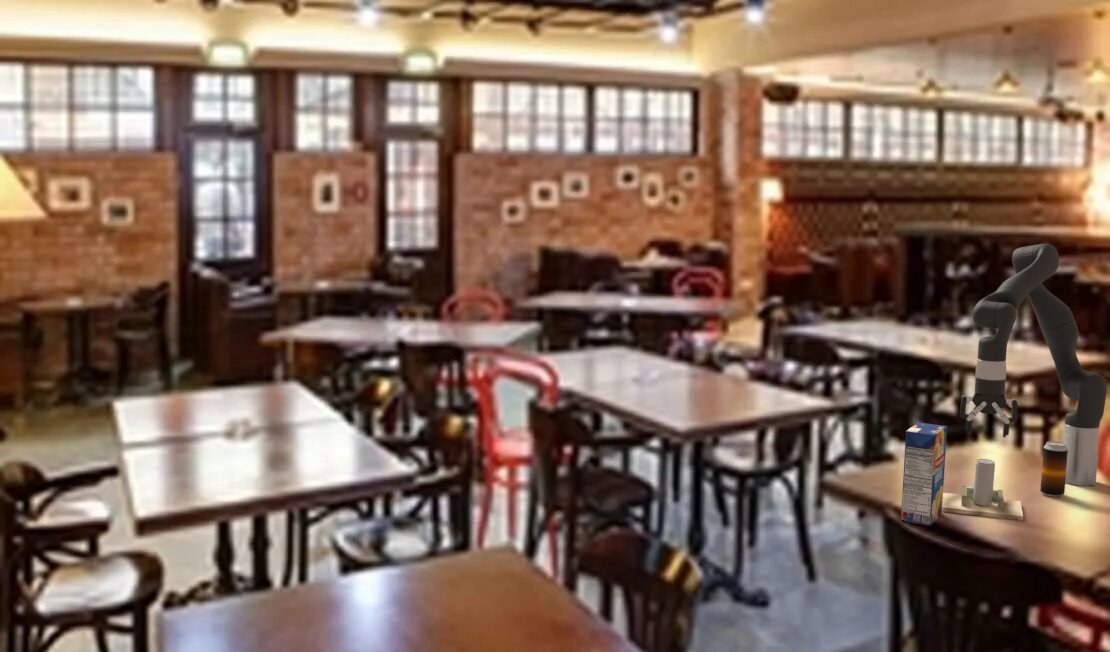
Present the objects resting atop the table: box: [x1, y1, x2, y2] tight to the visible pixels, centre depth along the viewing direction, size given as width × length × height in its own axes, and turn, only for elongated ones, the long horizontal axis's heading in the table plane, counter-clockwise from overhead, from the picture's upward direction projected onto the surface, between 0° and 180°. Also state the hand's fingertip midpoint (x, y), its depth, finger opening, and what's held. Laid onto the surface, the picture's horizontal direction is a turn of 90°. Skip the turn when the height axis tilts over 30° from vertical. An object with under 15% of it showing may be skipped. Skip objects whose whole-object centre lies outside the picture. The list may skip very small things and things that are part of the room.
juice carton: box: [900, 422, 948, 526], centre depth 279 cm, size 12×8×24 cm, turn 146°
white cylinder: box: [973, 458, 996, 506], centre depth 288 cm, size 5×5×12 cm
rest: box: [942, 485, 1024, 521], centre depth 288 cm, size 20×14×4 cm
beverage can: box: [1040, 440, 1068, 498], centre depth 300 cm, size 6×6×15 cm
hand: (987, 435), depth 285 cm, fingers open, 8 cm apart
